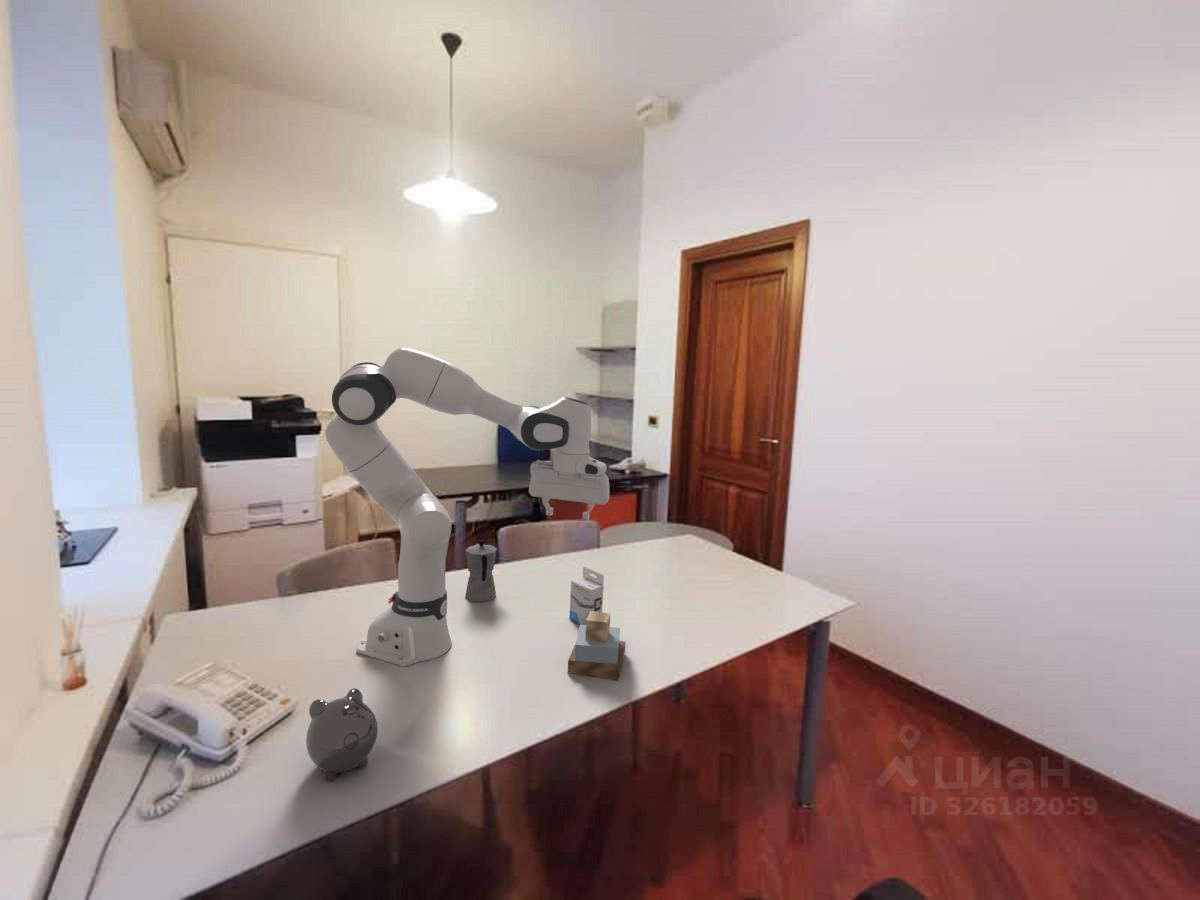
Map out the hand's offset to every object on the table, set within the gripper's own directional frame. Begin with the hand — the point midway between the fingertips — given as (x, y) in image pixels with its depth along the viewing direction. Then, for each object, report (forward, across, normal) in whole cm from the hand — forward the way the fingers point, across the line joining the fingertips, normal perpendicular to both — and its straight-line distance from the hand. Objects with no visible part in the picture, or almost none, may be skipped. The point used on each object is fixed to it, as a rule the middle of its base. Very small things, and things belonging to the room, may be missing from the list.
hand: (567, 517), depth 137 cm
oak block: (+26, +11, -8) cm, 30 cm away
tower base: (+34, +12, -7) cm, 37 cm away
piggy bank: (+36, -26, -51) cm, 68 cm away
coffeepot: (+34, -30, +20) cm, 50 cm away
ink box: (+34, +4, +13) cm, 36 cm away
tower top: (+30, +12, -8) cm, 33 cm away
